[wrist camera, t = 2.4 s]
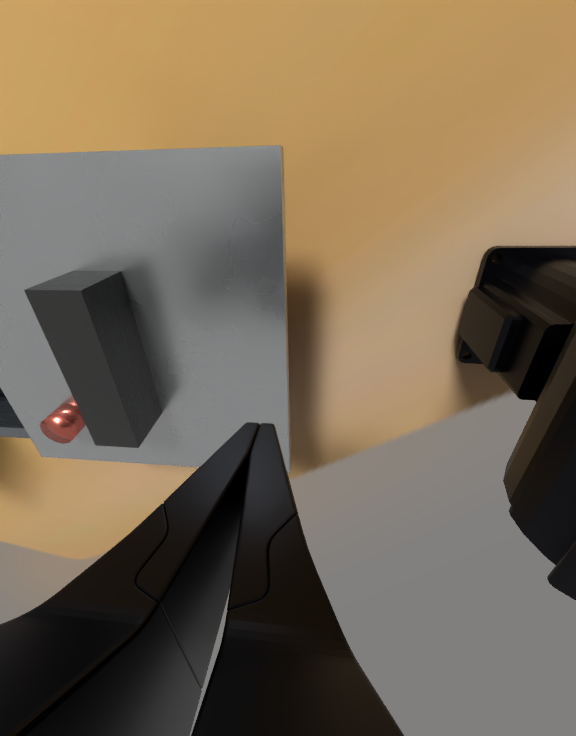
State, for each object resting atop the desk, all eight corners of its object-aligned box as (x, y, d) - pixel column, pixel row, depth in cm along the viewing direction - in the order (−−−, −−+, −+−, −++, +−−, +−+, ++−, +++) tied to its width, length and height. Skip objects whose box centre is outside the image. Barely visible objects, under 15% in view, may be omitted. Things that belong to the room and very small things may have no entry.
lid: (283, 146, 10) (268, 138, 8) (291, 461, 18) (284, 513, 15) (-110, 160, 12) (-238, 156, 9) (51, 446, 19) (7, 491, 17)
